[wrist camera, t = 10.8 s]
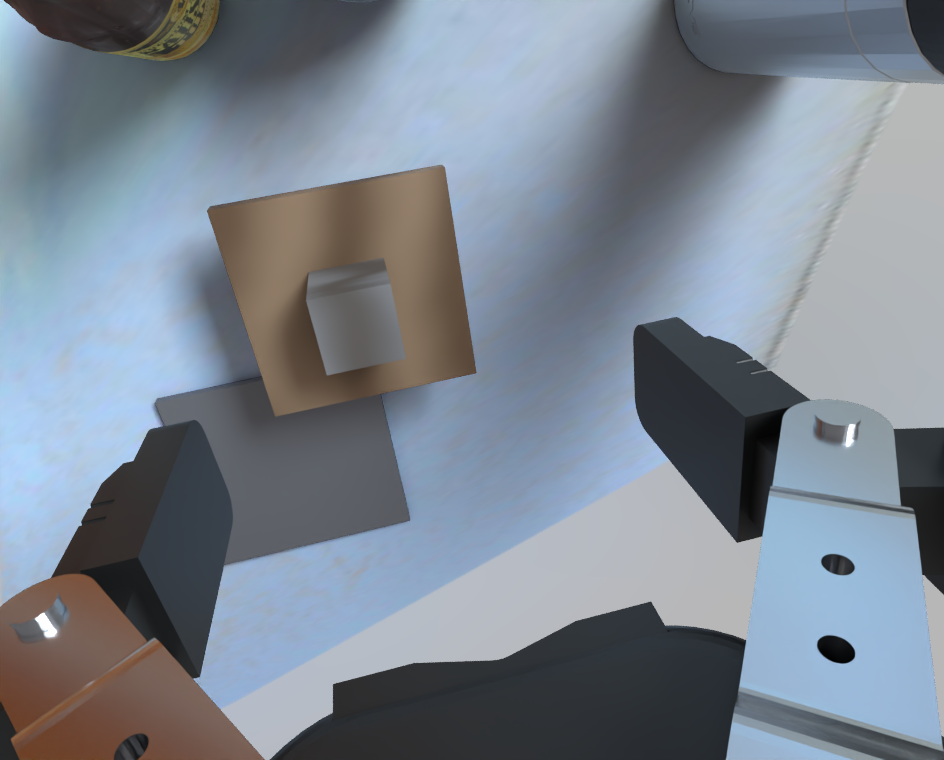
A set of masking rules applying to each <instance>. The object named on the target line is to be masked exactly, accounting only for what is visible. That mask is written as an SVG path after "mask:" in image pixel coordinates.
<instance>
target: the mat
mask: <svg viewBox="0 0 944 760" xmlns="http://www.w3.org/2000/svg"><path fill="white" fill-rule="evenodd" d="M155 404H156V406H157V409H158V411H159V413H160V416H161V418H162V420H163V423H164V425H165V426H167V425H172V424H177V423H181V422H186V421H191V420H196V421H198V422H199V423H200V425H201V426H202V428H203V430H204V432H205V434H206V437H207V439H208V441H209V444H210V446H211V449H212V451H213V454H214V456H215V459H216V461H217V464H218V466H219V469H220V471H221V474H222V476H223V479H224V481H225V484H226V486H227V489H228V491H229V495H230V498H231V503H232V510H233V525H232V530H231V534H230V539H229V544H228V548H227V553H226V558H225V562H224V565H226V564H230V563H234V562H239V561H243V560H247V559H251V558H255V557H260V556H264V555H268V554H272V553H276V552H280V551H285V550H289V549H293V548H297V547H301V546H306V545H310V544H314V543H318V542H322V541H327V540H331V539H335V538H339V537H343V536H348V535H352V534H356V533H360V532H364V531H368V530H373V529H377V528H381V527H385V526H389V525H394V524H398V523H402V522H406V521H410V516H409V512H408V508H407V503H406V499H405V495H404V491H403V487H402V482H401V478H400V474H399V470H398V466H397V461H396V457H395V453H394V449H393V444H392V440H391V436H390V432H389V428H388V423H387V419H386V415H385V411H384V407H383V402H382V398H381V394H378V395H373V396H369V397H364V398H359V399H355V400H350V401H345V402H341V403H336V404H332V405H327V406H322V407H318V408H313V409H308V410H304V411H299V412H295V413H290V414H285V415H281V416H276V417H275V414H274V411H273V408H272V405H271V402H270V399H269V396H268V393H267V390H266V387H265V384H264V381H263V378H262V377H258V378H253V379H249V380H244V381H239V382H234V383H229V384H225V385H220V386H215V387H210V388H206V389H201V390H196V391H191V392H187V393H182V394H177V395H172V396H167V397H163V398H158V399H157V400H156V402H155Z"/></svg>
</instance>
